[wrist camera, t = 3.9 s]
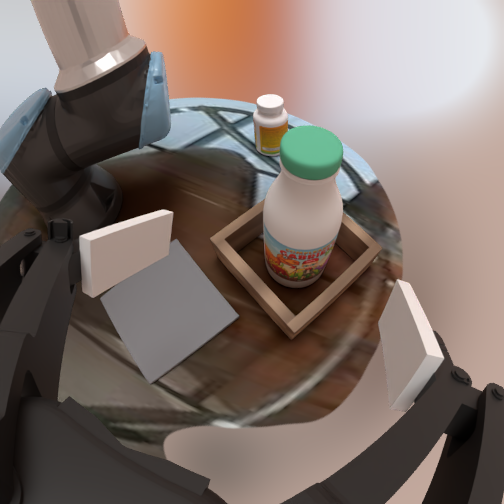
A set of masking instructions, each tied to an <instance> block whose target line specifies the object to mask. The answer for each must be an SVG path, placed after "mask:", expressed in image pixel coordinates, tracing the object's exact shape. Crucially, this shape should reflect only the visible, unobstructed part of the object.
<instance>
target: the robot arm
mask: <svg viewBox="0 0 504 504" xmlns="http://www.w3.org/2000/svg"><path fill="white" fill-rule="evenodd" d="M31 2H32V5H33V7H34V10H35V13H36V16H37V18H38V21H39V23H40V26H41V28H42V31H43V33H44V35H45V38H46V40H47V42H48V45H49V47H50V49H51V51H52V54H53V56H54V58H55V60H56V63H57V65H58V67H59V69H60V70H59V75H58V77H57V80H56V83H55V86H54V89H55V92H56V93H57V94H56V95H54V96H52V93H51V91H49V90H48V89H47V88H42V89H40V90H38V91H36V92H35V93H33V94H32V95H31V96H29V97H28V98H27V99H26V100H25V101H24V102H23V103H22V104H21V105H20V106H19V107H18V108H17V109H16V110H15V111H14V112H13V113H12V114H11V115H10V116H9V118H8V119H7V120H6V121H5V123H4V124H3V125H2V127H1V128H0V170H1V173H2V174H3V175H4V176H5V177H6V178H7V179H8V180H9V181H10V182H11V183H12V184H13V185H14V186H15V187H16V188H17V189H18V190H19V191H20V192H21V193H22V194H23V195H24V196H25V197H26V198H27V199H28V200H29V201H30V202H31V203H32V204H33V205H34V206H35V207H36V208H37V209H38V210H39V211H40V213H41V215H42V217H43V219H44V222H45V224H46V226H47V228H48V241H47V242H46V241H42V238H41V231H40V230H37V229H33V228H30V229H26V230H24V231H22V232H20V233H18V234H17V235H16V236H14V237H13V238H11V239H10V240H8V241H7V242H5V243H4V244H3V245H1V246H0V504H227V503H226V502H225V501H224V500H223V499H222V498H220V497H219V496H218V495H217V494H216V493H214V492H213V491H211V490H210V489H208V485H209V482H210V479H208V478H206V477H204V476H201V475H199V474H196V473H194V472H191V471H190V470H187V469H185V468H183V467H181V466H179V465H177V464H175V463H173V462H170V461H168V460H164V459H161V458H157V457H154V456H151V455H147V454H144V453H141V452H138V451H135V450H132V449H129V448H127V447H125V446H123V445H122V444H121V443H120V442H119V441H118V440H117V439H116V438H115V437H114V436H113V435H112V434H111V433H110V432H109V430H108V429H107V428H106V427H105V426H104V425H103V424H102V423H101V421H100V420H99V419H98V418H97V417H96V416H95V415H93V414H92V413H90V412H89V411H88V410H86V409H85V408H84V407H82V406H81V405H80V404H79V403H77V402H76V401H75V400H74V399H72V398H71V397H70V396H69V397H68V398H67V399H66V400H65V401H64V402H63V403H61V402H59V401H58V387H59V378H60V370H61V363H62V357H63V351H64V345H65V339H66V334H67V329H68V324H69V320H70V315H71V311H72V306H73V302H74V298H75V294H76V283H77V282H79V281H81V282H82V292H84V293H85V294H87V295H89V296H90V297H92V298H94V297H95V296H97V295H99V294H100V293H102V292H104V291H106V290H107V289H109V288H111V287H112V286H114V285H116V284H118V283H119V282H121V281H123V280H125V279H126V278H128V277H130V276H132V275H133V274H135V273H137V272H139V271H140V270H142V269H144V268H146V267H148V266H149V265H151V264H153V263H155V262H157V261H158V260H160V259H162V258H164V257H166V256H167V255H169V246H170V237H171V228H172V220H173V212H171V211H167V210H164V209H163V210H159V211H156V212H152V213H149V214H146V215H142V216H139V217H136V218H132V219H129V220H126V221H123V222H120V223H116V224H113V223H114V221H115V219H116V218H117V216H118V213H119V211H120V208H121V205H122V190H121V187H120V185H119V184H118V182H117V181H116V179H115V178H114V177H113V176H112V175H111V174H110V173H109V172H107V171H106V170H104V169H103V168H101V167H100V166H98V165H97V164H96V163H99V162H101V161H104V160H106V159H109V158H112V157H114V156H117V155H119V154H122V153H125V152H128V151H130V150H133V149H136V148H139V149H142V148H143V146H145V145H148V144H151V143H153V142H156V141H159V140H161V139H163V138H165V137H166V136H167V135H168V133H169V131H170V128H171V115H170V104H169V95H168V86H167V77H166V70H165V63H164V59H163V54H162V53H161V52H151V54H149V52H148V49H147V46H146V43H145V41H144V40H142V39H139V38H137V37H134V36H131V35H130V34H129V33H128V31H127V28H126V25H125V22H124V18H123V15H122V11H121V8H120V5H119V1H118V0H31ZM112 224H113V225H112ZM20 264H22V271H23V273H22V274H21V273H20ZM378 324H379V330H380V336H381V342H382V348H383V355H384V362H385V370H386V378H387V387H388V397H389V408H390V409H393V410H399V411H404V412H406V411H407V410H408V408H409V407H410V406H411V405H412V403H413V402H414V403H415V404H414V405H413V406H412V407H411V408H410V409H409V410H408V411H407V412H406V414H404V415H403V416H402V417H401V418H400V419H399V420H398V421H397V422H396V423H395V424H394V425H393V426H392V427H391V428H390V429H389V430H388V431H387V432H385V433H384V434H383V435H382V436H381V437H380V438H379V439H378V440H377V441H375V442H374V443H373V444H372V445H371V446H370V447H368V448H367V449H366V450H365V451H363V452H362V453H361V454H360V455H358V456H357V457H356V458H355V459H353V460H352V461H351V462H349V463H348V464H347V465H345V466H344V467H343V468H341V469H340V470H338V471H337V472H336V473H334V474H333V475H331V476H330V477H329V478H327V479H326V480H324V481H322V482H321V483H316V484H314V485H312V486H311V487H309V488H307V489H306V490H304V491H302V492H300V493H299V494H297V495H295V496H294V497H292V498H290V499H288V500H286V501H285V502H283V503H281V504H385V503H386V502H387V501H388V500H389V499H390V498H391V497H392V496H393V495H394V494H395V492H397V490H398V489H399V488H400V487H401V486H402V485H403V484H404V483H405V482H406V481H407V480H408V478H409V477H410V476H411V475H412V474H413V473H414V471H415V470H416V469H417V467H418V466H419V465H420V464H421V462H422V461H423V460H424V459H425V458H426V456H427V455H428V454H429V452H430V451H431V450H432V448H433V447H434V445H435V444H436V443H437V441H438V440H439V438H440V437H441V436H442V434H443V433H445V434H447V438H446V441H445V444H444V448H443V451H442V454H441V457H440V460H439V463H438V465H437V468H436V471H435V473H434V476H433V479H432V481H431V484H430V486H429V488H428V491H427V493H426V495H425V498H424V500H423V502H422V504H501V502H502V498H503V493H504V389H503V387H501V386H499V385H497V384H495V383H489V384H488V385H487V386H486V387H485V389H484V390H483V391H480V390H477V389H475V388H473V387H471V385H472V381H471V378H470V376H469V375H468V374H467V373H466V372H465V371H464V370H463V369H461V368H459V367H457V366H454V365H453V363H452V360H451V358H450V355H449V353H448V352H447V349H446V347H445V344H444V342H443V340H442V338H441V337H440V336H439V334H438V333H437V332H436V331H433V330H432V329H431V327H430V324H429V322H428V320H427V318H426V315H425V313H424V311H423V309H422V307H421V305H420V303H419V301H418V299H417V297H416V295H415V293H414V291H413V289H412V287H411V285H410V284H409V283H408V282H404V281H401V280H398V279H397V281H396V283H395V286H394V288H393V291H392V293H391V295H390V298H389V300H388V302H387V304H386V307H385V309H384V311H383V313H382V315H381V318H380V320H379V322H378Z"/></svg>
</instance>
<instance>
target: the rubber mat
mask: <svg viewBox="0 0 504 504" xmlns="http://www.w3.org/2000/svg"><path fill="white" fill-rule="evenodd" d="M100 299H101V301H102V303H103V305H104V307H105V309H106V311H107V313H108V315H109V317H110V319H111V321H112V323H113V324H114V326H115V328H116V330H117V332H118V333H119V335H120V337H121V339H122V341H123V342H124V344H125V346H126V347H127V349H128V351H129V352H130V354H131V356H132V357H133V359H134V361H135V362H136V364H137V365H138V367H139V369H140V370H141V372H142V373H143V375H144V376H145V378H146V379H147V381H148V382H149V384H152V383H154V382H155V381H156V380H158V379H159V378H161V377H162V376H163V375H165V374H166V373H167V372H169V371H170V370H171V369H173V368H174V367H175V366H177V365H178V364H179V363H181V362H182V361H183V360H185V359H186V358H187V357H189V356H190V355H191V354H193V353H194V352H195V351H197V350H198V349H199V348H201V347H202V346H203V345H204V344H206V343H207V342H208V341H210V340H211V339H212V338H214V337H215V336H216V335H217V334H219V333H220V332H221V331H222V330H224V329H225V328H226V327H228V326H229V325H230V324H231V323H233V322H234V321H235V320H236V319H238V318H239V315H238V314H237V313H236V312H235V311H234V309H233V308H232V307H231V306H230V305H229V303H228V302H227V301H226V300H225V299H224V297H223V296H222V295H221V294H220V293H219V291H218V290H217V289H216V288H215V287H214V285H213V284H212V283H211V282H210V280H209V279H208V278H207V277H206V275H205V274H204V273H203V272H202V271H201V269H200V268H199V267H198V266H197V264H196V263H195V262H194V260H193V259H192V258H191V257H190V255H189V254H188V253H187V252H186V250H185V249H184V248H183V246H182V245H181V244H180V243H179V241H178V240H177V239H175V240H174V241H172V242H171V243H170V246H169V255H167V256H166V257H164V258H162V259H160V260H158V261H157V262H155V263H153V264H151V265H149V266H148V267H146V268H144V269H142V270H140V271H139V272H137V273H135V274H133V275H132V276H130V277H128V278H126V279H125V280H123V281H121V282H119V283H118V284H117V285H116V286H114V287H113V288H112V289H111V290H110V291H108V292H107V293H106V294H105V295H103V296H102V297H101V298H100Z"/></svg>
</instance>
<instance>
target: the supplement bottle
mask: <svg viewBox="0 0 504 504" xmlns="http://www.w3.org/2000/svg"><path fill="white" fill-rule="evenodd" d="M283 107H284V104H283V99H282V98H281V97H279V96H277V95H272V94H268V95H263V96H261V97H259V98H258V99H257V109H256V110H255V112H254V114H253V121H254V133H255V145H256V149H257V150H258V152H260V153H261V154H263V155H266V156H277V155H280V142H281V139H282V137H283V135H284V134H285V133H286V132H287V131H288V114H287V112H286V110H285V109H284V108H283Z"/></svg>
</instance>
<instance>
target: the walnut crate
mask: <svg viewBox="0 0 504 504" xmlns="http://www.w3.org/2000/svg"><path fill="white" fill-rule="evenodd" d="M264 202H265V199H264V200H263V201H261V202H260V203H258V204H257V205H255V206H254V207H253V208H251V209H250V210H248V211H247V212H246V213H244V214H243V215H241V216H240V217H239V218H237V219H236V220H234V221H233V222H232V223H230V224H229V225H228V226H226V227H225V228H223V229H222V230H221V231H219V232H218V233H217V234H215V235H214V236H213V237H211V238H210V240H211V243H212V245H213V247H214V250H215V252H216V255H217V257H218V258H219V259H220V261H221V262H222V263H223V264H224V265H225V266H226V268H227V269H228V270H229V271H230V272H231V273H232V274H233V276H234V277H235V278H236V279H237V280H238V281H239V282H240V284H241V285H242V286H243V287H244V288H245V289H246V290H247V292H248V293H249V294H250V295H251V296H252V297H253V298H254V299H255V301H256V302H257V303H258V304H259V305H260V306H261V307H262V308H263V310H264V311H265V312H266V313H267V314H268V315H269V316H270V317H271V318H272V320H273V321H274V322H275V323H276V324H277V325H278V326H279V327H280V328H281V329H282V331H283V332H284V333H285V334H286V335H287V336H288V337H289V338H290V339H291V340H292V339H293V338H294V337H296V336H297V335H298V334H299V333H300V332H301V331H302V330H304V329H305V328H306V327H307V326H308V325H309V324H310V323H311V322H312V321H313V320H315V319H316V318H317V317H318V316H319V315H320V314H321V313H322V312H323V311H324V310H325V309H326V308H328V307H329V306H330V305H331V304H332V303H333V302H334V301H335V300H336V299H337V298H338V297H339V296H340V295H341V294H342V293H343V292H344V291H345V290H346V289H347V288H348V287H349V286H350V285H351V284H352V283H353V282H354V281H355V280H356V279H357V278H358V277H359V276H360V275H361V274H362V273H363V272H364V271H365V270H366V269H367V268H368V267H369V266H370V265H371V263H372V262H373V261H374V259H375V258H376V256H377V255H378V254H379V252H380V251H381V249H382V247H381V246H380V245H379V244H378V243H377V242H375V241H374V240H373V239H372V238H371V237H370V236H369V235H368V234H367V233H366V232H365V231H364V230H362V229H361V228H360V227H359V226H358V225H357V224H356V223H355V222H354V221H352V220H351V219H350V218H349V217H348V216H347V215H346V214H344V213H343V215H342V222H341V226H340V229H339V232H338V235H337V238H336V241H335V243H336V244H337V245H338V246H339V247H340V248H341V249H343V250H344V251H345V252H346V253H347V254H348V255H349V256H350V257H351V258H352V259H353V260H354V261H355V262H354V263H353V264H352V265H351V266H350V267H349V268H348V269H347V270H346V271H345V272H344V273H343V274H342V275H341V276H340V277H339V278H337V279H336V280H335V281H334V282H333V283H332V284H331V285H330V286H329V287H328V288H327V289H326V290H325V291H324V292H323V293H321V294H320V295H319V296H318V297H317V298H316V299H315V300H314V301H313V302H312V303H310V304H309V305H308V306H307V307H306V308H305V309H304V310H303V311H301V312H300V313H299V314H298V315H297V316H296V317H295V316H294V315H293V313H292V312H291V311H290V310H289V309H288V308H287V307H286V306H285V305H284V304H283V303H282V302H281V301H280V299H279V298H278V297H277V296H276V295H275V294H274V293H273V292H272V291H271V290H270V289H269V288H268V286H267V285H266V284H265V283H264V282H263V281H262V280H261V279H260V278H259V277H258V276H257V275H256V273H255V272H254V271H253V270H252V269H251V268H250V267H249V266H248V265H247V264H246V263H245V261H244V260H243V259H242V258H241V257H240V256H239V255H238V254H237V252H238V251H239V250H241V249H242V248H243V247H245V246H246V245H247V244H248V243H250V242H251V241H252V240H254V239H255V238H256V237H258V236H259V235H260V234H262V233H263V232H264V231H263V208H264Z"/></svg>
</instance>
